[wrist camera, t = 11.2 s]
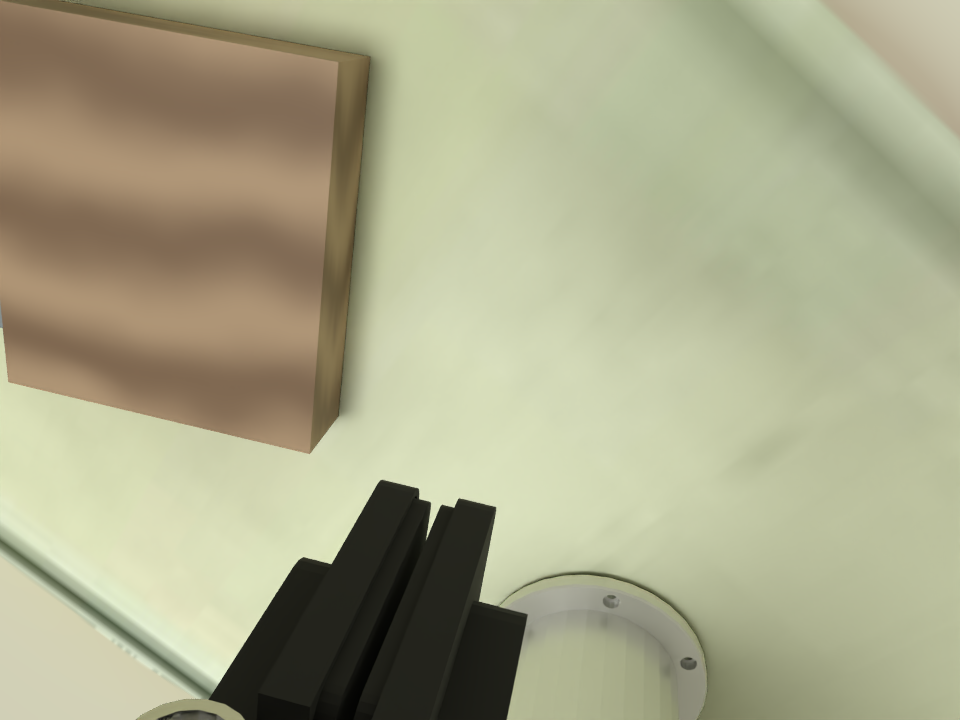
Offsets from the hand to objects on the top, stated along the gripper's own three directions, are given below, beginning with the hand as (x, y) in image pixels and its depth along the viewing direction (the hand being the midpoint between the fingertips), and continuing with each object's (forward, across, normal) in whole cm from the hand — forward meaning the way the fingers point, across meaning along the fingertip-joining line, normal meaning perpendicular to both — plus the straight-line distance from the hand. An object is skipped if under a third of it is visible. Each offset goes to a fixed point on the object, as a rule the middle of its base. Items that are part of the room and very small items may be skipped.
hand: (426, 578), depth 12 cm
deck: (+27, +18, +5) cm, 33 cm away
